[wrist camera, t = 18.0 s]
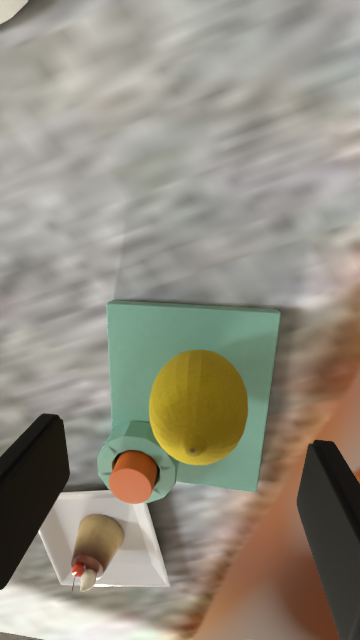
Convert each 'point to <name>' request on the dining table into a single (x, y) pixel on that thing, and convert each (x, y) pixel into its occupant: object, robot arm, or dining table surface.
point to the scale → (158, 349)
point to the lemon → (198, 407)
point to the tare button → (133, 477)
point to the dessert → (102, 542)
